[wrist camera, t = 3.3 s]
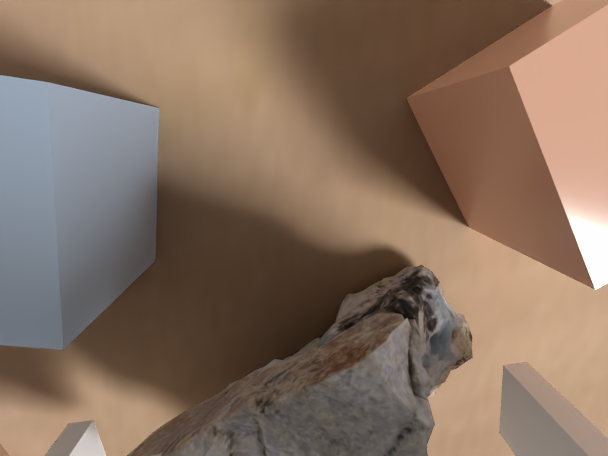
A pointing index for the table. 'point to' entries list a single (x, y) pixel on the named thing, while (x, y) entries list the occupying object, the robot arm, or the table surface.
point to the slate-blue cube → (71, 207)
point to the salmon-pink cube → (531, 138)
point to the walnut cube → (3, 451)
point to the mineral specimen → (338, 384)
